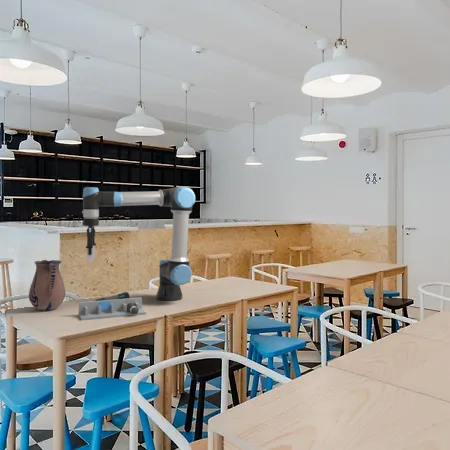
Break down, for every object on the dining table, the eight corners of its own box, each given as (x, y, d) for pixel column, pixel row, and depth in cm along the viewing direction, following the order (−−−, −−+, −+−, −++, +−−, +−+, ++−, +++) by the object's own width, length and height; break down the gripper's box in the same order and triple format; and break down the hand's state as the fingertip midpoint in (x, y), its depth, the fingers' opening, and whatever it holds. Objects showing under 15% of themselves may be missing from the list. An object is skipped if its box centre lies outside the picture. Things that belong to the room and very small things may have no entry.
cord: (126, 310, 226) (126, 303, 226) (133, 309, 228) (133, 302, 227) (131, 314, 217) (131, 307, 217) (138, 314, 219) (138, 306, 218)
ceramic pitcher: (56, 303, 244) (56, 258, 243) (74, 310, 229) (74, 261, 228) (23, 308, 232) (23, 260, 231) (40, 316, 217) (39, 264, 216)
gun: (133, 305, 241) (127, 288, 239) (97, 320, 234) (90, 303, 233) (131, 303, 245) (125, 286, 244) (96, 318, 239) (90, 301, 237)
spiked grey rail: (141, 309, 232) (141, 297, 231) (146, 314, 223) (146, 301, 222) (78, 315, 218) (78, 302, 218) (81, 320, 209) (81, 306, 209)
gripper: (85, 217, 237) (85, 257, 238) (80, 218, 212) (81, 263, 213) (99, 217, 238) (100, 256, 239) (97, 218, 214) (97, 262, 215)
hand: (91, 259), depth 226 cm, fingers open, 13 cm apart
